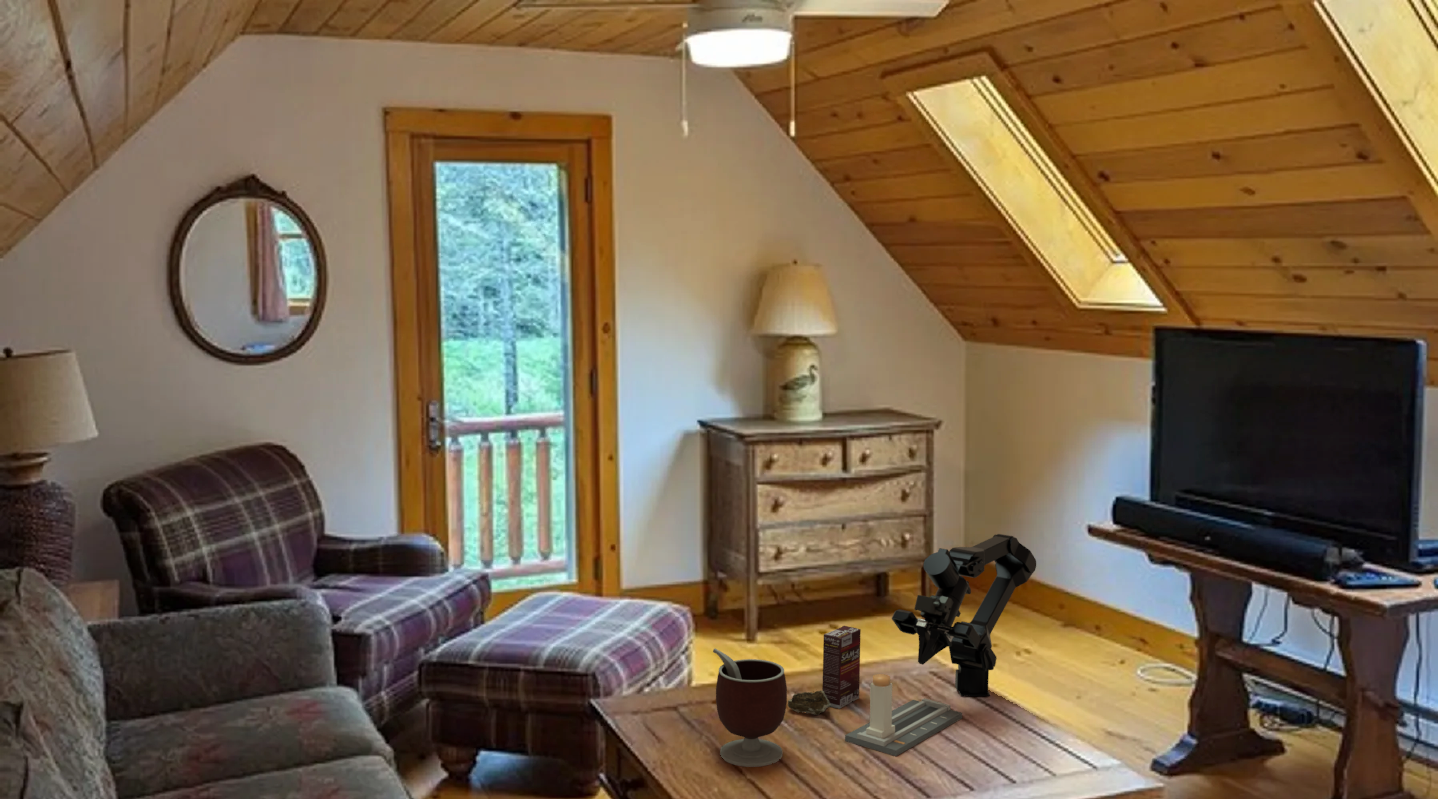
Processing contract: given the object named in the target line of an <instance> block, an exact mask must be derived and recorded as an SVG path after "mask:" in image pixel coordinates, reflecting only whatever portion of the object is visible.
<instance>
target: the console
mask: <svg viewBox="0 0 1438 799" xmlns="http://www.w3.org/2000/svg"><path fill="white" fill-rule="evenodd" d="M961 719H963V712H961V711H958V710H954V709H951V704H948V703H944V702H941V701H937V700H932V699H929V698H922V699H921V701H920V700H916V699H911V700H909V701H908V702H906V703H904V704H902V705H900V706H898V707H896V708H894V709H892V725H895V733H894V734H893V735H891V736H889V737H887V738H885V739H881V738H878V737H874V736H871V735H868V734H866V728H868V727H870V721H869V722H868V723H866V724H863V725H862V726H860V727H858V728H856V729H854V730H852V731H850V732H849V733H846V734H844V741H845V742H847V743H850V744H851V743H852V744H854V745H858V746H860V747H865V748H868V749H871V750H874V751H878V752H880V753H884V754H887V755H890V756H893V757H897V756H899V755H901V754H902V753H904V752H906V751H908V750H910V749H911V748H913V747H915V746H916V745H918V744H920V743H922V742H923V741H925V740H927V739H929V738H930V737H932V736H934V735H936V734H937V733H938V732H941V731H942V730H944V729H946V728H948V727H950V726H952V725H953V724H955V723H956V722H958V721H960V720H961Z"/></svg>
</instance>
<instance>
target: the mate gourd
mask: <svg viewBox="0 0 1438 799" xmlns="http://www.w3.org/2000/svg"><path fill="white" fill-rule="evenodd" d="M712 653H714V654H716V655H717V656H718V657H719V659H720V660H721V662H722V663H723V664H721V665H720V666H719V668H718V674H717V677H716V678H717V679H716V686H715V702H716V703H715V704H716V709H717V710H716V711H717V715H718V719H719V721H720V722H721V724H722V725H723V726H724V728H725V729H726V730H727V731H728V733H731V734H733V735H735V736H738V737H742V738H741V739H736V740H732V741H729V742H726V743H725V744H723V745H722V746H721V747H720V750H719V756H720V755H721V756H720V758H721V757H722V758H723V759H724V760H723V759H722V758H721V759H722V760H723V761H725V762H726V763H728V764H731V765H735V766H739V767H745V768H746V767H747V768H749V767H750V768H754V767H755V768H756V767H766V766H769V765H772V763H773V764H775V763H777V762H778V761H780V760H781V759H782V758H781V757H783V748H782V747H781V746H780V745H778V744H777V743H775V742H773V741H770V740H766V739H761V737H765V736H769V735H771V734H773V733H775V731H776V730H777V729H778V728H779V726H780V725H781V724H782V723H783V721H784V718H785V715H786V710H787V705H788V698H787V697H788V690H787V688H788V687H787V680H786V674H785V668H784V667H783V666H782V665H781V664H779V663H777V662H773V661H770V660H765V659H758V658H757V659H753V658H751V659H750V658H747V659H746V658H745V659H737V660H734V659H732V658H731V657H730V656H729V655H728V654H726V653H724V652H722V651H721V650H718V649H717V648H713V650H712ZM779 759H780V760H779Z"/></svg>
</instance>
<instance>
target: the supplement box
mask: <svg viewBox="0 0 1438 799" xmlns="http://www.w3.org/2000/svg"><path fill="white" fill-rule="evenodd" d="M822 646H823V647H822V648H823V649H822V650H823V654H822V658H823V659H822V685H821V687H822V689H821V691H824V693H825V695H826V697H827V699H828V700H829V702H830V704H831V705H830V707H829V708H833V709H837V708H838V709H837V710H840V709H841V708H843V707H845V706H846V705H849V704H850V703H853V702H854V701H856V700H859V699H860V678H861V676H860V675H861V674H860V672H861V671H860V669H861V628H856V627H852V626H847V625H842V627H839V628H836V629H834V630H831V631H830V632H827V633H824V634H823V645H822ZM852 701H853V702H852Z"/></svg>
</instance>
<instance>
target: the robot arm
mask: <svg viewBox="0 0 1438 799" xmlns="http://www.w3.org/2000/svg"><path fill="white" fill-rule="evenodd" d="M992 562H995V564H994V565H995V571H996V576H995V578H994V581H993V582H992V583H991V585H990V587H989V589H988V591H987V593H986V594H985V596H984V597H983V600H982V601H981V603H980V605H979V606H978V608H977V610H976V612H975V614H974V616H973V617H972V620H971V621H969V622H967V621H957V622H955V619H956V618H960V616H961V614H962V613H961V611H960V609H961V608H960V607H961V605H962V603H963V600H964V598H965V597H966V596H965V595H971V594H972V593H971V592H972V589H971V587H970V581H969V580H966V578H965V577H968V578H973V579H975V578H977V577H979V576H980V575H981V574H982V573H983V572H985V566H986V565H988V564H990V563H992ZM1036 569H1037V560H1036V557H1035V556H1034V554H1033V553H1032V551H1031V550H1030V549H1029V548H1027V547H1026V546H1025V545H1023V544H1022V543H1020V542H1019V540H1018V538H1017V537H1015V536H1014V535H1009V534H1002V533H997V534H994V535H993V536H992V537H990V538H988V539H986V540H984V541H982V542H980V543H977V544H975V545H973V546H968V547H967V546H959V547H958V546H956V547H952V548H950V550H949V549H947V548H938V550H937V552H934V553H932V554H930V555H929V556H927V558H925V559H924V562H923V570H924V571H925V572H926V574H927V576H928V577H929V579H930V580H931V581H932V583H933V585H934V586H935V587H936V588H937V590H936V592H935V595H933V594H932V595H930V596H926V595H920V594H918V595H917V596H916V600H915V604H914V610H915V611H919V612H920V613H919V614H920V616H921V617H922V618H918V617H917V616H916V615H915V614H914V612H913V611H910V610H905V609H900V608H899V609H897V610H895V611H894V613H893V614H892V617H891V620H892V621H893V623H894V625H895V626H896V627H897V628H898V630H899V631H900V632H901V633H904V634H908V635H916V634H917V636H918V654H917V655H918V656H917V663H918V664H919V665H925V664H926V663H927V662H928V661H930V659H932V658H933V657H934V656H936V655H937V654H938V653H939V652H941V651H942V650H944V649H946V648H947V647H948V650H949V655H950V660H951V664H952V665H957V669H955V673H954V674H955V682H954V683H955V685H954V686H955V689H956V691H958V693H959V696H960V697H990V696H991V693H990V692H989V674H990V673H989V671H993V670H994V668H995V667H996V664H997V655H996V654H995V653H994V651H993V648H992V647H993V645H992V638H991V634H992V633H993V630H994V628H995V627H996V625H997V622H998V621H999V619H1000V617H1001V616H1002V613H1003V611H1004V610H1005V608H1006V606H1007V604H1008V602H1009V601H1010V599H1011V597H1012V595H1013V593H1014V591H1015V590H1016V588H1018V587H1020V586H1022V585H1023V584H1025V583H1027V582H1028V581H1029V579H1030V578H1031V576H1032V575H1033V574H1034V572H1035V571H1036ZM923 618H924V619H923ZM954 622H955V623H954Z"/></svg>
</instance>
